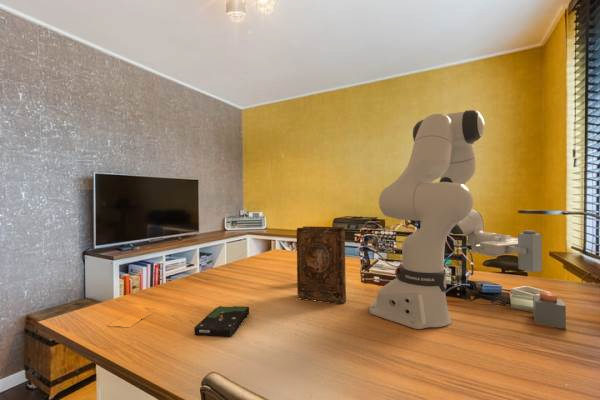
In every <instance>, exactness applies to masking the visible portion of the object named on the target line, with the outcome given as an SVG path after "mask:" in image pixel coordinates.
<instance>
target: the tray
mask: <svg viewBox="0 0 600 400" xmlns="http://www.w3.org/2000/svg"><path fill="white" fill-rule="evenodd" d="M509 300H510V302H509V303H510V308H511V309H514V310H519V311H525V312H532V313H533V297H527V296H520V295H514V294H511V293H510V294H509Z"/></svg>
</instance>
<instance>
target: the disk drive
mask: <svg viewBox="0 0 600 400" xmlns="http://www.w3.org/2000/svg"><path fill="white" fill-rule="evenodd" d="M248 314H249V315H250V307H249V306H238V305H237V306H235V305H234V306H222V305H219V306H217V307H216V308H214V309H212V311H211V312H210V313H208V315H207V316H205V317H204V318H203V319H202V320H201V321H200V322H198V323H197V325H196V326H194V329H193V330H194V331H193V332H194V336H195V335H196V336H198V337H211V338H212V337H213V338H214V337H216V338H232V337H233V336H234V335H235V334H236V332H237V330H238V329H239V328H240V327H239V326H242V324H243V323H244V321H245V320H246V319H247V318H248V316H249V315H248ZM247 315H248V316H247ZM246 317H247V318H246ZM245 318H246V319H245ZM244 319H245V320H244ZM243 320H244V321H243ZM242 322H243V323H242ZM241 323H242V324H241ZM196 336H195V337H196Z"/></svg>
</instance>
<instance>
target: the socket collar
mask: <svg viewBox="0 0 600 400" xmlns="http://www.w3.org/2000/svg"><path fill="white" fill-rule="evenodd" d="M540 292H547V293H552V294H553V292H551V291H547V290H544V289H540V288H537V287H532V286H529V285H524V286H523V285H522V286H518V287H511V288H510V294H515V295H520V296H527V297H533V295H538V296H540Z"/></svg>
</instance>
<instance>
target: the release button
mask: <svg viewBox="0 0 600 400" xmlns="http://www.w3.org/2000/svg"><path fill="white" fill-rule="evenodd" d="M540 298H541V299H543V301H547V302H554V301H557V298H558V295H557V294H555V293H553V292H552V293H547V292H540Z"/></svg>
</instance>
